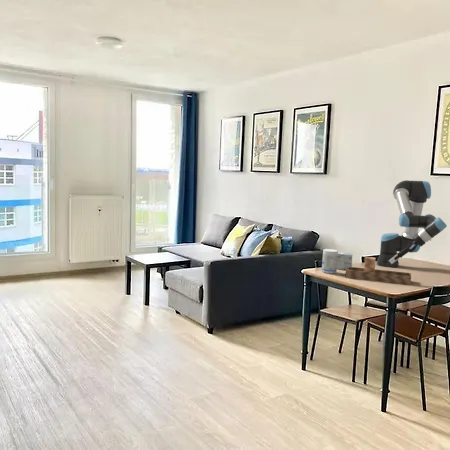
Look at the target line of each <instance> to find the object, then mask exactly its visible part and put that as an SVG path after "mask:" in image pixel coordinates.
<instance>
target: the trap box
mask: <svg viewBox="0 0 450 450" xmlns="http://www.w3.org/2000/svg"><path fill="white" fill-rule="evenodd" d="M345 278H346V279H353V280H354V279H355V280H364V281H372V282H380V283H381V282H382V283H388V284H389V283H390V284H399V285H406V286H407V285H408V286H411V283H412V282H411V281H412V273H411V272H403V271H395V270H383V269H376V268H375V273H374V272H365V271H364V267H357V266H352V267H348V268H347V269H346V270H345Z"/></svg>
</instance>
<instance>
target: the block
mask: <svg viewBox="0 0 450 450" xmlns="http://www.w3.org/2000/svg"><path fill="white" fill-rule="evenodd" d="M376 261H377V260H376V257H372V256H365V257H364V267H363V268H364V271H365V272H374V273H375V269H376Z"/></svg>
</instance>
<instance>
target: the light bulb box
mask: <svg viewBox="0 0 450 450" xmlns="http://www.w3.org/2000/svg"><path fill="white" fill-rule="evenodd" d="M348 267H353V253H351V252H338V259H337V270H344V269H345V270H344V271H346V269H347V268H348Z"/></svg>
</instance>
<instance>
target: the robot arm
mask: <svg viewBox="0 0 450 450" xmlns="http://www.w3.org/2000/svg"><path fill="white" fill-rule="evenodd" d="M392 195H393V198H394V199H395V200H396V202H397V206H398V209H399V214H400V215H399V217H398V225H399V226H400V227H401V228H402V227H403V228H405V229H404V231H403V232H402V233H401V235H399V233H397V232H391V233H383V234H382V235H381V238H380V247H379V248H380V249H379V250H380V251H379V256H378V258H377V260H376V265H377V266H379V267H386V268H397V267H399V264H400V263H399V259H401V258H403V257H404V256H405V255H407V254H409V253H417V252H419V250H420V249H421V247H423V246H424V245H425V244H426V243H428V242H429V241H432V239H433V238H435V237H436V236H437V235H439V234H440V233H441V232H443V231H444V230H445V229H446V228H447V224H446V223H445V222H444V220H443V219H442V218H441V217H436V216H434V215H433V214H431V213H430V214H429V213H428V214H425V215H422V213H423V208H424V205H425V203H427V200H428V199H430V198H431V197H432V187H431V184H430V182H429V181H425V180H402V181H400V182H398V183H397V184H396V185H395V186H394V188H393V192H392ZM419 229H420V230H419Z"/></svg>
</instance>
